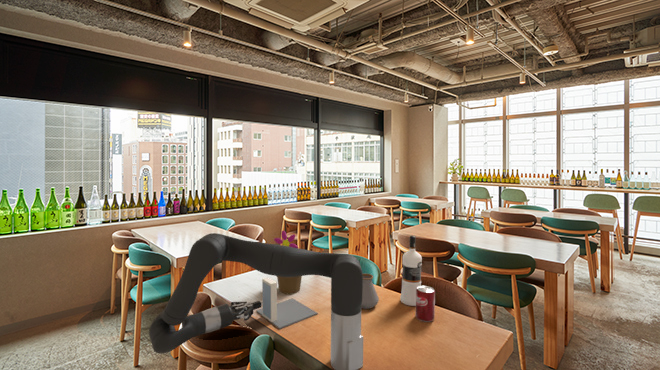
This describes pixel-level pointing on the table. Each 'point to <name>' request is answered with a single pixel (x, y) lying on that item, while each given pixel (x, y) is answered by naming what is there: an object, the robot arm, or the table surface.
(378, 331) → the table surface
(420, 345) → the table surface
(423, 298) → the soda can
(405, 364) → the table surface
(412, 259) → the vodka
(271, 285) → the slate tablet
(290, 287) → the flowerpot
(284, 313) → the rubber mat
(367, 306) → the coffee pot
